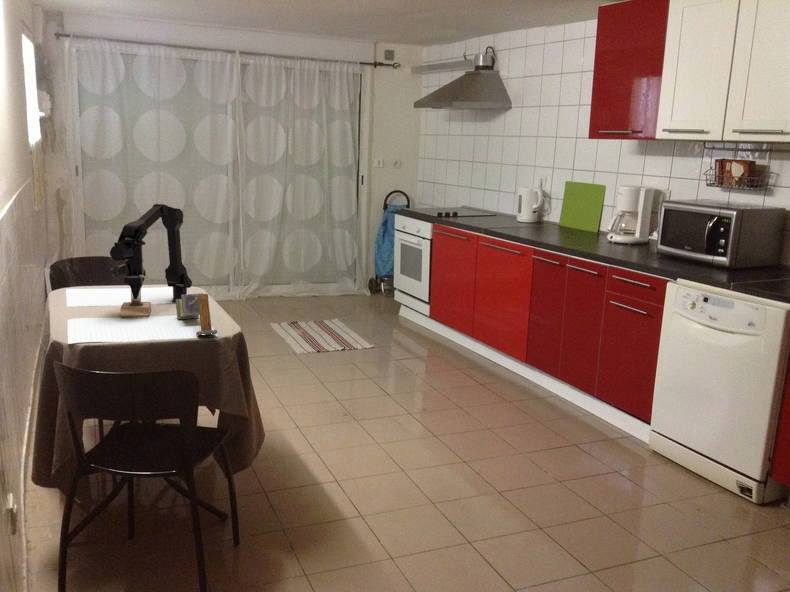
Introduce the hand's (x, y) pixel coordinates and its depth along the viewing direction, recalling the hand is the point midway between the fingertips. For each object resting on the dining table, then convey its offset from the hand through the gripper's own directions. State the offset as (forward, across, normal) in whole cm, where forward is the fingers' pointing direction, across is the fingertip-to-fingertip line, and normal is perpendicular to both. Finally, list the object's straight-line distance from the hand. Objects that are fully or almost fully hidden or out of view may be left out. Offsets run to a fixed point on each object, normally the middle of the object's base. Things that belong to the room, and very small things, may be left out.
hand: (136, 297), depth 267 cm
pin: (+2, 0, 0) cm, 2 cm away
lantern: (+7, +21, +23) cm, 32 cm away
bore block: (+7, 0, 0) cm, 7 cm away
